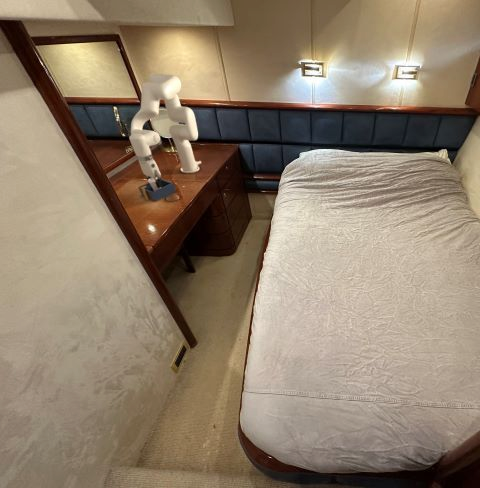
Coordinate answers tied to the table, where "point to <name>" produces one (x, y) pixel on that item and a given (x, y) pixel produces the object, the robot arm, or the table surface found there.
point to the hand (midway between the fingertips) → (156, 185)
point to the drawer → (157, 194)
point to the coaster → (172, 198)
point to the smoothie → (153, 183)
